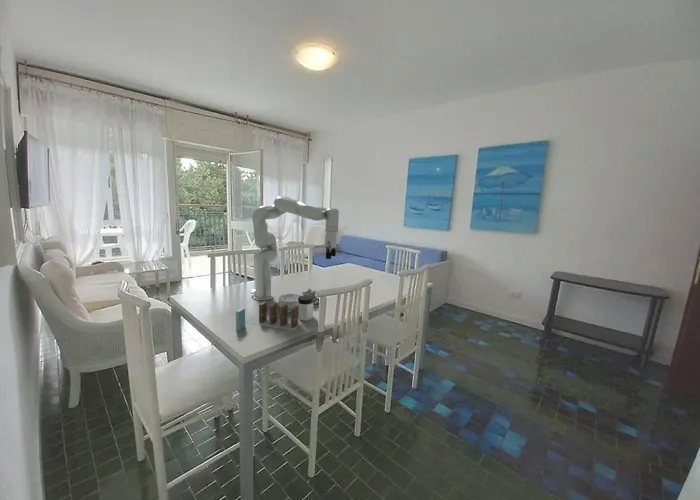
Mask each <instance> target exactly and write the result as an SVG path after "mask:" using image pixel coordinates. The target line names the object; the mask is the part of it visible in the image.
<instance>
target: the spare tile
mask: <svg viewBox="0 0 700 500" xmlns="http://www.w3.org/2000/svg"><path fill="white" fill-rule="evenodd" d="M245 320H246V308H245V307H240V308H239V309H237V310H236V311H235V330H236V331H240V330H241V331H242V329H243V328H245V327H246V323H245Z"/></svg>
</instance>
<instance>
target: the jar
mask: <svg viewBox="0 0 700 500" xmlns="http://www.w3.org/2000/svg"><path fill="white" fill-rule="evenodd" d="M301 295H302V296H299V297H298V306H299V308H298V321H307V322H308V321H309V320H313V319H314V303H313V297H312V296H309V295H303V294H301Z"/></svg>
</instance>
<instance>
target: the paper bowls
mask: <svg viewBox="0 0 700 500" xmlns="http://www.w3.org/2000/svg"><path fill="white" fill-rule="evenodd" d="M302 295H303V294H302V293H301V294H299V293H285V294H283V295H280V296H279V297H278V307H279V308H280V307H282V306H283V305H284V304H287V305H288V313H291V309H292V308H293V307H294V306H298V297H299V296H302Z"/></svg>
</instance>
